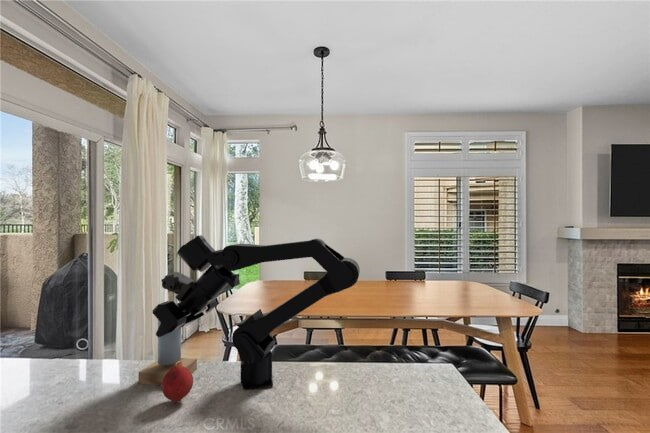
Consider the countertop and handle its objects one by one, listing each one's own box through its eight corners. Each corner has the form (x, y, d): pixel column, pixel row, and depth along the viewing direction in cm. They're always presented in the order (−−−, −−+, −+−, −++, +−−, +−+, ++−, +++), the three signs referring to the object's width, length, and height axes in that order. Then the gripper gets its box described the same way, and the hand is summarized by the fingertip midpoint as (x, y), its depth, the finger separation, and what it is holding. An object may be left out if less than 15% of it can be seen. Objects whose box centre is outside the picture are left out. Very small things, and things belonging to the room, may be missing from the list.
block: (196, 369, 85) (196, 359, 85) (175, 386, 76) (175, 374, 76) (162, 366, 87) (163, 356, 87) (138, 383, 78) (138, 372, 78)
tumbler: (185, 356, 84) (185, 302, 84) (176, 365, 79) (176, 307, 79) (162, 356, 84) (163, 302, 84) (152, 365, 79) (152, 307, 79)
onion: (181, 411, 66) (181, 369, 66) (154, 408, 67) (155, 366, 68) (198, 396, 72) (198, 357, 72) (173, 393, 73) (174, 355, 73)
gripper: (205, 257, 91) (165, 298, 92) (161, 266, 72) (112, 317, 73) (233, 288, 89) (193, 329, 91) (196, 305, 71) (146, 357, 72)
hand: (164, 332), depth 82 cm, fingers closed on tumbler, 5 cm apart
